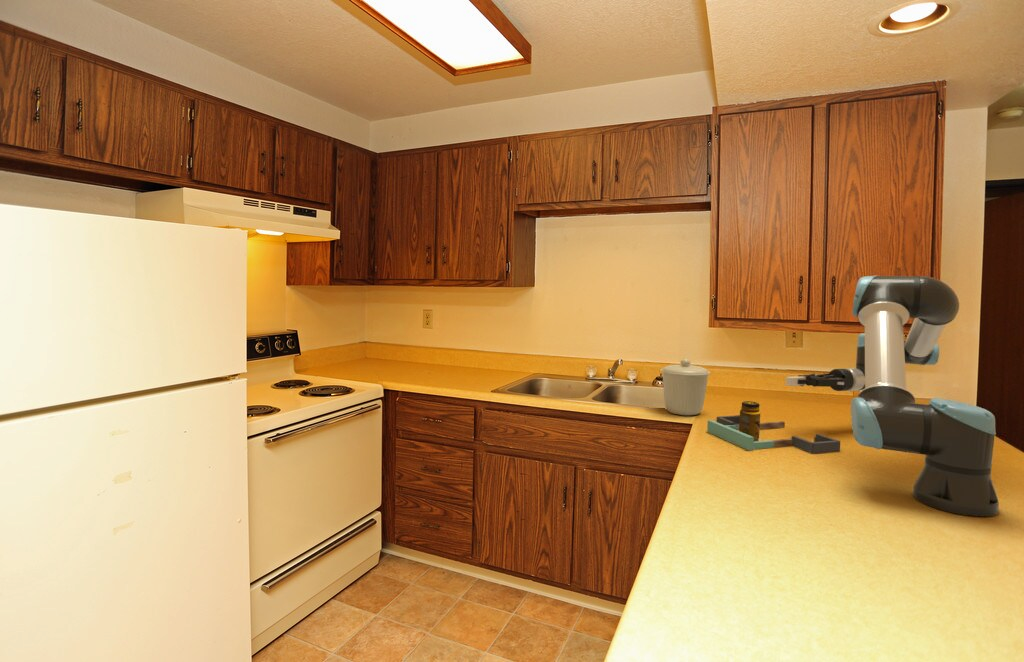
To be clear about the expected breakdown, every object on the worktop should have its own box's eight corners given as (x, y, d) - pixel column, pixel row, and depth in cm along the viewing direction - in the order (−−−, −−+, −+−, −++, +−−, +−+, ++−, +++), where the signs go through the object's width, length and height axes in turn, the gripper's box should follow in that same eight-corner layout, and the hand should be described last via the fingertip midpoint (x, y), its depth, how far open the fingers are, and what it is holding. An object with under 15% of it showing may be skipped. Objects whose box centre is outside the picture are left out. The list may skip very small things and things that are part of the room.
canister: (659, 416, 200) (661, 361, 198) (658, 405, 218) (660, 354, 216) (711, 420, 196) (713, 363, 194) (705, 408, 213) (707, 356, 211)
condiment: (765, 441, 170) (767, 404, 169) (743, 443, 168) (745, 406, 167) (748, 435, 177) (750, 399, 176) (727, 437, 175) (729, 401, 173)
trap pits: (759, 421, 194) (760, 413, 194) (840, 451, 161) (841, 441, 160) (715, 425, 189) (716, 416, 189) (789, 455, 156) (790, 445, 156)
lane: (781, 426, 187) (782, 421, 187) (827, 443, 169) (827, 436, 169) (732, 430, 182) (733, 424, 182) (773, 447, 164) (774, 441, 163)
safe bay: (731, 430, 183) (732, 418, 182) (775, 448, 163) (776, 435, 163) (707, 431, 180) (707, 420, 180) (748, 450, 161) (749, 437, 160)
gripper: (861, 394, 175) (802, 396, 169) (828, 387, 187) (772, 389, 181) (863, 371, 174) (803, 373, 168) (829, 366, 187) (773, 367, 181)
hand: (787, 381), depth 175 cm, fingers closed
